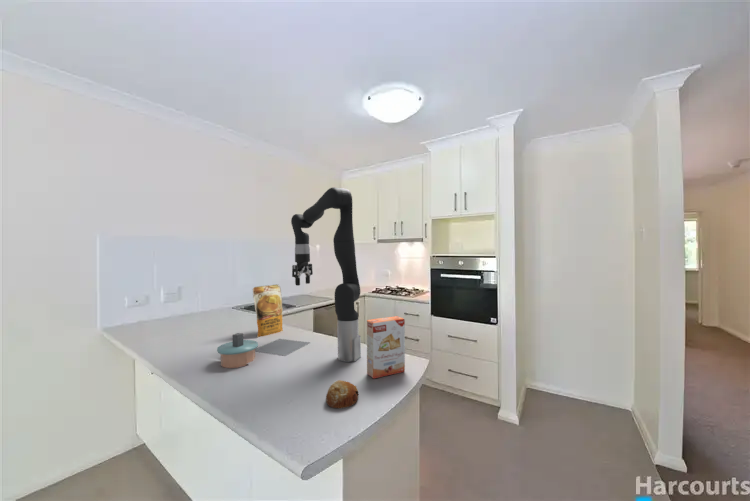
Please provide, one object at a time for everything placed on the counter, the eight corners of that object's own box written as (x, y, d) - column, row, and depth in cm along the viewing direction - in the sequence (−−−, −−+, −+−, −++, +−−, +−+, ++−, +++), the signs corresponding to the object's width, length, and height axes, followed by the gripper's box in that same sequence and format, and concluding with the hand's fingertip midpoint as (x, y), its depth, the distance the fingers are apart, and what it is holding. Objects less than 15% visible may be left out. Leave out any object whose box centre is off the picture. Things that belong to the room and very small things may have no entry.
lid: (265, 344, 133) (265, 330, 133) (237, 356, 118) (236, 341, 118) (238, 340, 139) (238, 327, 139) (208, 352, 124) (207, 337, 124)
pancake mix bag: (250, 337, 165) (249, 286, 165) (280, 329, 180) (279, 283, 180) (256, 339, 161) (255, 287, 161) (287, 331, 176) (286, 284, 175)
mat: (311, 344, 151) (311, 342, 151) (285, 357, 133) (285, 355, 133) (279, 340, 159) (279, 338, 159) (250, 352, 140) (250, 350, 140)
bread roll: (333, 404, 99) (322, 383, 99) (360, 389, 100) (350, 368, 100) (331, 421, 89) (319, 398, 89) (362, 405, 90) (350, 381, 90)
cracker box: (373, 380, 109) (372, 322, 109) (366, 374, 114) (365, 319, 114) (405, 372, 115) (405, 318, 115) (397, 366, 121) (396, 315, 121)
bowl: (261, 358, 132) (260, 345, 132) (237, 369, 120) (237, 354, 120) (239, 355, 137) (238, 342, 137) (214, 365, 125) (214, 351, 125)
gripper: (300, 253, 146) (300, 286, 146) (316, 252, 159) (316, 283, 159) (287, 253, 149) (288, 285, 149) (304, 252, 162) (305, 282, 162)
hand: (302, 284), depth 154 cm, fingers open, 8 cm apart
